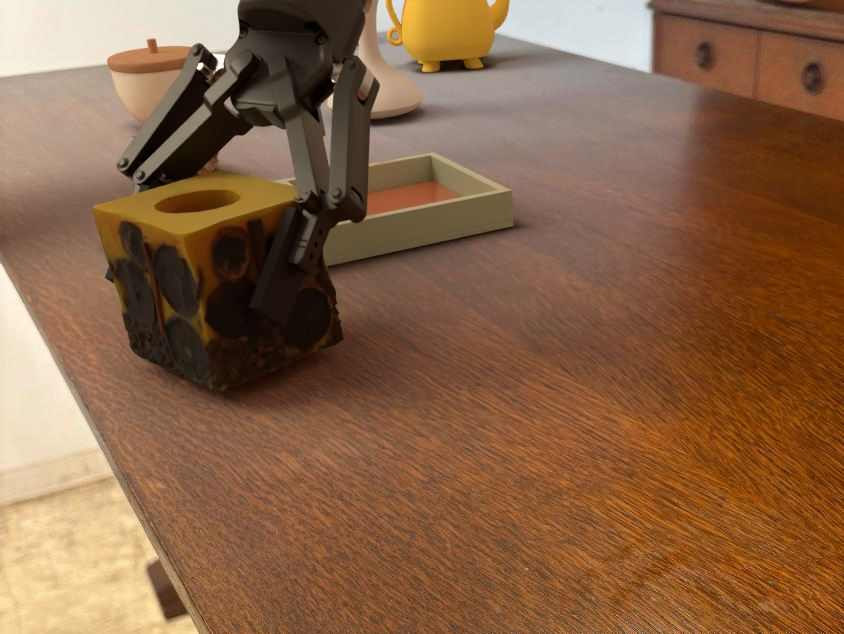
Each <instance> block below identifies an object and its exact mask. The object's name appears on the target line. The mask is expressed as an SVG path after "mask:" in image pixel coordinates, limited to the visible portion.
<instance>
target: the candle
mask: <svg viewBox="0 0 844 634" xmlns="http://www.w3.org/2000/svg"><path fill="white" fill-rule="evenodd" d="M272 181H273V180H268V179H264V178H260V177H256V176H252V175H248V174H244V173H240V172H237V171H236V172H235V171H230V170H227V169H226V170H225V169H220V170H215V171H212V172H211V173H207V174H203V175H199V176H195V177H191V178H187V179H183V180H180V181H177V182H174V183H171V184H167V185H164V186H160V187H157V188H154V189H150V190H147V191H143V192H140V193H136V194H133V193H132V194H133V195H132V194H130V195H127V196H124V197H120V198H117V199H113V200H110V201H106V202H103V203H99V204H95V205H94V206H93V207H92V212H93V216H94V221H95V224H96V228H97V232H98V235H99V238H100V242H101V245H102V249H103V252H104V255H105V258H106V261H107V263H108V268H109V267H110V270H111V271H112V272H113V277H114V283H113V285H114V286H115V289H116V291H117V294H118V298H119V302H120V306H121V316H122V321H123V325H124V329H125V331H126V333H127V337H128V341H129V347H130V349H131V351H132V352H133V353H134V355H136V356H137V357H139V359H143V360H145V361H147V362H148V363H151V364H153V365H158V366H159V367H161V368H162V369H164V370H166V371H169V372H171V373H173V374H176V375H178V376H180V377H183V378H185V379H188V380H191V381H193V382H195V383H197V384H198V385H200V386H202V387H206V388H208V389H209V390H210V391H213V392H225V391H228V390H232V389H235V388H238V387H240V386H242V385H244V384H246V383H248V382H251V381H254V380H256V379H258V378H261V377H264V376H266V375H268V374H271V373H273V372H276V371H278V370H280V369H283V368H285V367H287V366H289V365H291V364H293V363H294V362H296V361H299V360H301V359H302V357H304V356H307V355H310V354H313V353H316V352H318V351H321V350H324V349H327V348H330V347H333V346H336V345H338V344H340V343H342V342H343V341H344V340H345V338H344V332H343V328H342V324H341V323H342V320H341V319H340V318H339V315H340V311H339V310H338V308H337V305H338V301H337V290H336V287H335V285H334V283H333V280H332V276H331V274H330V272H329V268H328V266H327V265H326V262H325V259H324V257H323V250H322V252H321V255H320V258H319V261H318V263H317V266H316V268H315V269H314V271H313V272H312V273H311V275H310V274H305V275H304V278H303V280H302V283H301V286H300V289H299V291H298V294H297V297H296V299H295V302H294V305H293V307H292V310H291V313H290V316H289V318H288V321H287V324H286V326H285V328H283V327H278V326H275V325H273V324H272V323H270V322H269V321H268V320H266V319H265V318H263V317H262V316H260V315H259V314H258V313H256V312H255V311H253V310H252V309H250V308H249V305H250V302H251V299H252V297H253V294H254V291H255V289H256V286H257V283H258V281H259V278H260V275H261V273H262V270H263V267H264V265H265V262H266V259H267V257H268V254H269V251H270V249H271V246H272V243H273V241H274V238H275V235H276V233H277V230H278V228H279V225H280V222H281V220H282V217H283V214H284V212H285V209H286V207H292V208H297V209H298V210H299V211H300V212H301V213H303V210H304V209H303V208H302V207H301V206H300V205H299V204H298V203H297V202H295V200H294V197H295V198H297V199H298V200H299V201H300V199H299V198H298V197H297V196H298V195H299V194H298V189H297V187H295V186H290V185H286V184H281V183H277V182H272Z"/></svg>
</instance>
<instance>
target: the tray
mask: <svg viewBox="0 0 844 634" xmlns="http://www.w3.org/2000/svg"><path fill="white" fill-rule="evenodd" d="M271 181H272V182H277V183H281V184H286V185H290V186H295V187H297V183H296V178H295V176H293V177H288V178H283V179H277V180H271ZM512 227H514V207H513V190H512V189H510V188H508V187H506V186H504V185H501V184H500V183H498V182H495V181H493V180H492V179H490V178H488V177H485V176H484V175H481V174H479V173H477V172H476V171H473V170H471V169H469V168H467V167H465V166H462V165H461V164H459V163H457V162H455V161H453V160H451V159H449V158H447V157H445V156H443V155H441V154H438V153H436V152H435V151H433V152H428V153H422V154H417V155H411V156H404V157H399V158H394V159H388V160H383V161H378V162H372V163H369V169H368V197H367V214H366V217H365V219H364V220H363V221H362V222H359V223H353V222H351V221H350V220H347V221H343V222H339V223H338V224H337V225H336V226H335V227H334V228H332V229H330V231H329V234H328V236H327V239H326V242H325V244H324V247H323V257H324V259H325V262H326V265H327V267H330V266H335V265H340V264H344V263H349V262H354V261H358V260H359V261H360V260H363V259H368V258H374V257H376V256H381V255H386V254H390V253H396V252H400V251H404V250H405V251H406V250H410V249H413V248H414V249H415V248H419V247H423V246H428V245H432V244H439V243H443V242H447V241H451V240H456V239H460V238H461V239H462V238H465V237H469V236H475V235H479V234H484V233H489V232H492V231H497V230H503V229H507V228H512Z"/></svg>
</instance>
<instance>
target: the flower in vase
mask: <svg viewBox="0 0 844 634" xmlns="http://www.w3.org/2000/svg"><path fill="white" fill-rule="evenodd" d="M379 1H380V0H373V2H372V5H371V8H370V10H369V12H368V13H367V14H366V15H365V18H366V22H365V26H364V29H363V31H362V34H361V37H360V39H359V42H358V55H357V56H358V57H359V58H360V59H361V61H362V62H363V63H364V64H365V65H366V66H367V68H368V69H369V70H370V71H371V73H372V74H373V75H374V77H375V78H376V79H377V80H378V81H379V83H380V89H379V91H378V94H377V97H376V100H375V102H374V105H373V108H372V111H371V115H370V120H380V119H381V120H382V119H387V118H393V117H397V116H401V115H405V114H407V113H410V112H412V111H413V110H415V109H416V108H417V109H418V108H419V107H420V105H421V103H422V101H423V99H424V96H423V94H422V91H421V90H420V89H419V88H418V87H417V86H416V85H415V84H414V83H413V82H412V81H411V80H410V79H408V78H407V77H406V76H404V75H403V74H402V73H401V72H400V71H398V70H397V69H395V68H393V66H391V65H390V64H389V63H388V62H387V61H386V60H385V59H384V57H383V55H382V53H381V50H380V47H379V39H378V30H377V28H378V27H377V14H378V4H379ZM333 94H334V93H333ZM333 94H332V95H331V96H330V97H328V98H327V103H326V106H327V107H328V109H329V110H330V111H331V112H332V106H333Z"/></svg>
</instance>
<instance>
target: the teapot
mask: <svg viewBox="0 0 844 634" xmlns="http://www.w3.org/2000/svg"><path fill="white" fill-rule="evenodd" d="M384 2H385V8H386V11H387V13H388V16H389V18H390V20H391V23H392V24H393V26H394V27H391V28H389V29H388V31H387V32H386V33H387V34H386V40H387V42H388V44H390V45H391V46H394V47H401V46H402V45H403V47H404V49H405V50H406V52H407V54H408V55H409V56H410V57H411V58H412V59H414V60H418V61H417V63H418V64H421V65H422V68H421V72H423V73H433V72H438V71H440V69H441V61H455V60H460V61H463V64H464V67H465V69H469V70H470V69H473V70H474V69H481V68H484V65H483V63H482V61H481V59H480V58H481V57H485V56H487V55H488V54H489V52H490V51H491V50H492V49H491V48H492V46H493V44H494V41H495V38H496V33H495V32H496V31H497V30H498V29H499V28H501V27H502V25H504V23H505V21H506V20H507V17H508V15H509V10H510V0H495V1H494V2H493V3H492V4H491V5H489V2H488V0H404V2H403V6H402V12H401V19H400V20H399V18H398V16H397V14H396V11H395V9H394V6H393V0H384ZM393 33H397V39H396V38H394V37H393Z"/></svg>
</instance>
